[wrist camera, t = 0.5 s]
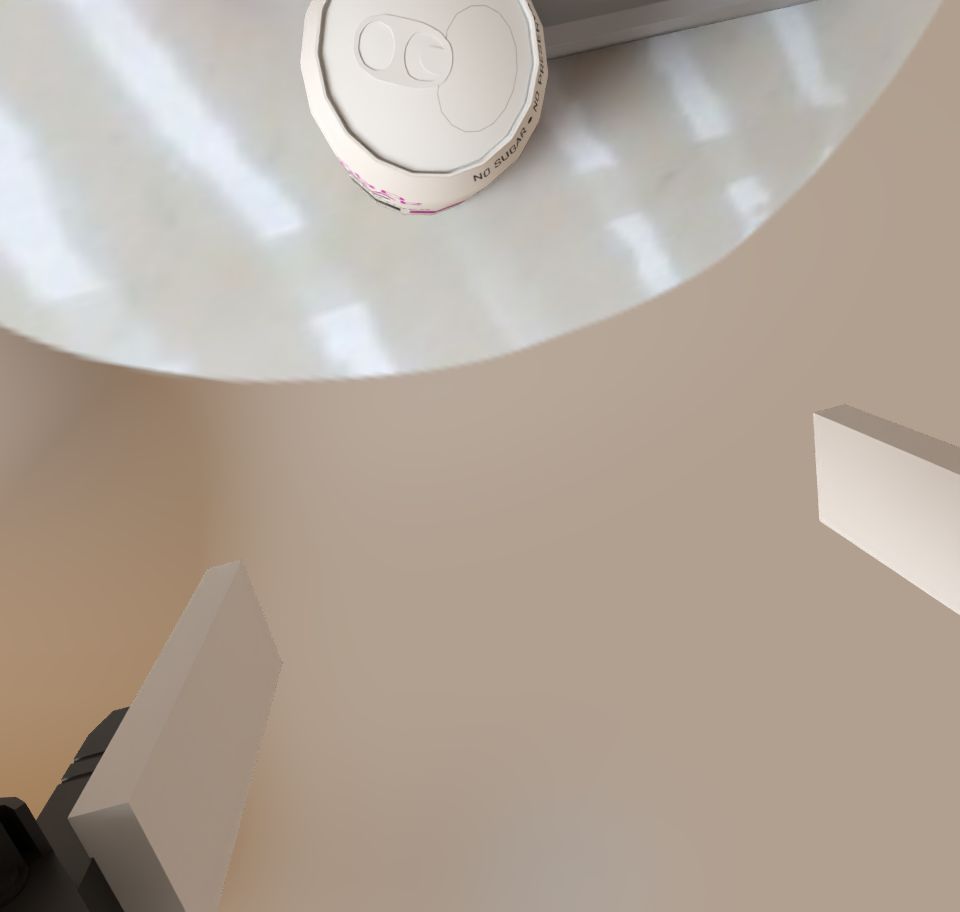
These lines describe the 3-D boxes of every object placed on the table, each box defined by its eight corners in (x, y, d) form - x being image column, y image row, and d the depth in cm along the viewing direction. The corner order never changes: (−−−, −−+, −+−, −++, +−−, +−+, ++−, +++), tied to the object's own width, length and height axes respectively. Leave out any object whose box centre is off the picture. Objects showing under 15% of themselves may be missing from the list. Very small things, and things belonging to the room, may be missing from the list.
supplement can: (506, 64, 35) (582, -61, 20) (477, 230, 37) (527, 220, 23) (348, 25, 33) (311, -137, 19) (328, 200, 36) (282, 170, 21)
